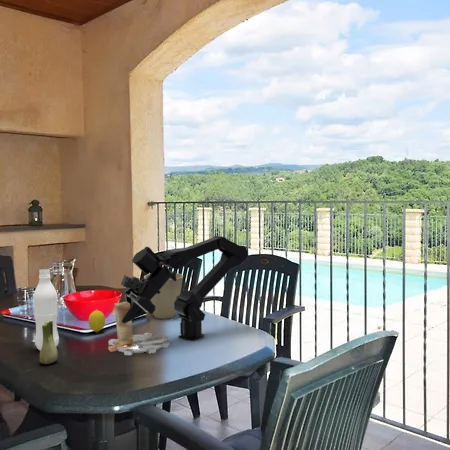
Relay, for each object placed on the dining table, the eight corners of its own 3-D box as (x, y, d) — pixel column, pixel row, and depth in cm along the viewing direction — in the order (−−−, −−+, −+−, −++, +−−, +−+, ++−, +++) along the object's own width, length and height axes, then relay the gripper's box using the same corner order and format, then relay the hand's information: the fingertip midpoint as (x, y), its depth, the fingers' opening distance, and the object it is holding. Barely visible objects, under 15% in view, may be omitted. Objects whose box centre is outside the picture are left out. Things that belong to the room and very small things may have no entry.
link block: (130, 340, 167) (127, 301, 167) (133, 343, 164) (130, 303, 163) (117, 342, 166) (114, 303, 165) (120, 345, 162) (117, 305, 161)
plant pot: (136, 318, 200) (135, 277, 199) (161, 310, 213) (160, 271, 212) (167, 323, 193) (167, 280, 191) (191, 314, 205) (190, 274, 204)
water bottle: (63, 346, 167) (61, 268, 164) (49, 353, 160) (46, 272, 158) (45, 344, 169) (42, 267, 167) (29, 351, 162) (27, 271, 160)
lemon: (101, 335, 179) (100, 312, 178) (86, 334, 180) (85, 311, 179) (108, 330, 184) (107, 308, 183) (93, 329, 185) (92, 307, 184)
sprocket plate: (180, 342, 170) (180, 338, 170) (141, 358, 154) (141, 354, 154) (137, 333, 181) (136, 329, 180) (95, 348, 165) (95, 343, 165)
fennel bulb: (51, 358, 155) (49, 318, 154) (62, 361, 153) (61, 320, 152) (35, 364, 150) (33, 323, 149) (47, 367, 148) (45, 325, 147)
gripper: (129, 262, 173) (96, 298, 169) (144, 270, 156) (108, 311, 152) (152, 283, 177) (121, 319, 173) (170, 294, 160) (135, 334, 156)
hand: (120, 320), depth 164 cm, fingers open, 5 cm apart
